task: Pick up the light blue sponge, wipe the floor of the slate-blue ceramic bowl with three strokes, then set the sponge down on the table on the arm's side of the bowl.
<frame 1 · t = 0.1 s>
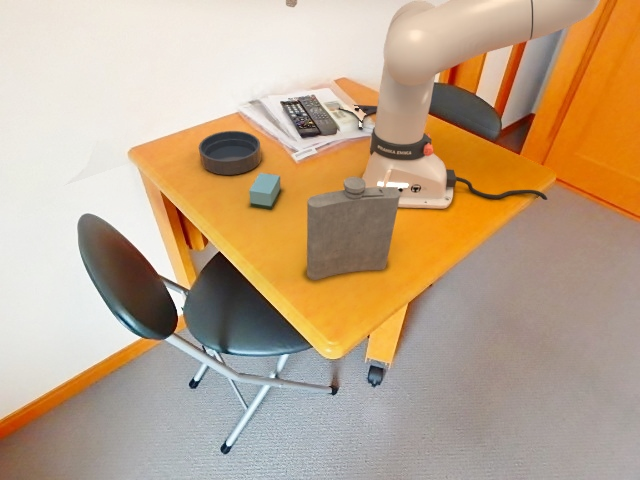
hand: (297, 0, 76), 39 cm above the table, tool pointing down, fingers open, 8 cm apart
bracket: (360, 119, 126), on the table
sponge: (266, 198, 94), on the table
bowl: (231, 160, 106), on the table
hip flask: (346, 268, 78), on the table
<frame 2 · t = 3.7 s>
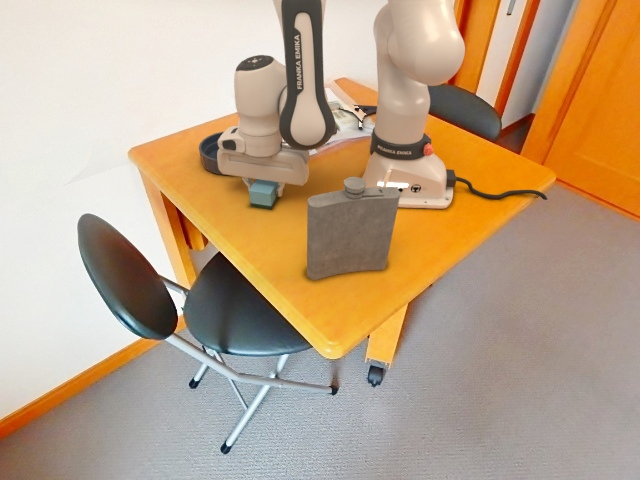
hand: (265, 193, 92), 2 cm above the table, tool pointing down, fingers closed on sponge, 5 cm apart
sponge: (266, 198, 94), on the table, touching gripper
everything else where it was.
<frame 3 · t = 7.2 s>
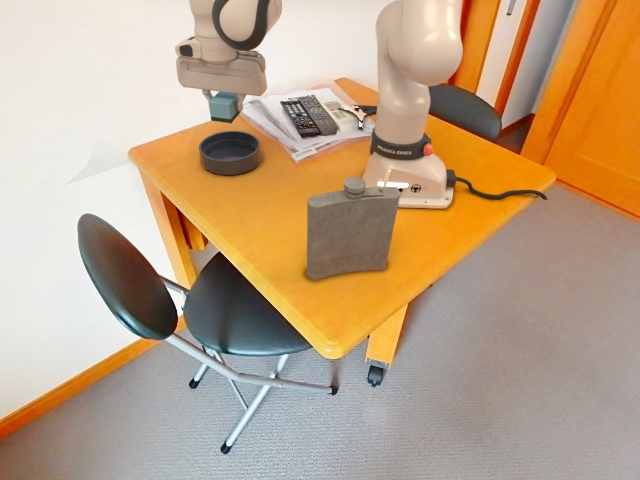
hand: (226, 108, 94), 15 cm above the table, tool pointing down, fingers closed on sponge, 5 cm apart
sponge: (227, 115, 95), point 13 cm above the table, touching gripper
everything else where it was.
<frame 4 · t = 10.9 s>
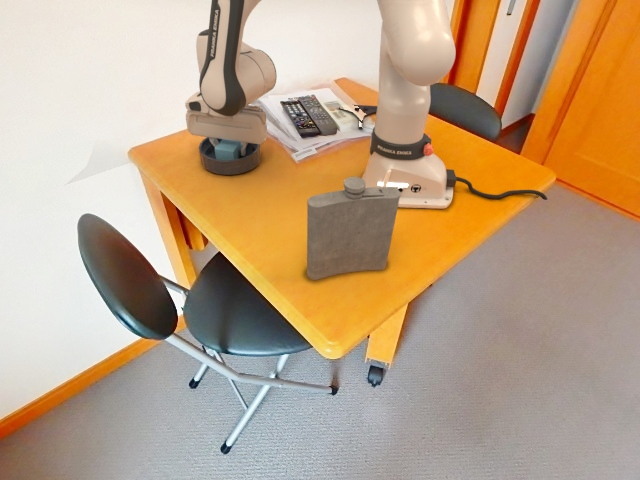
hand: (230, 153, 104), 2 cm above the table, tool pointing down, fingers closed on sponge, 5 cm apart
sponge: (231, 158, 105), point 1 cm above the table, touching bowl, gripper
everything else where it was.
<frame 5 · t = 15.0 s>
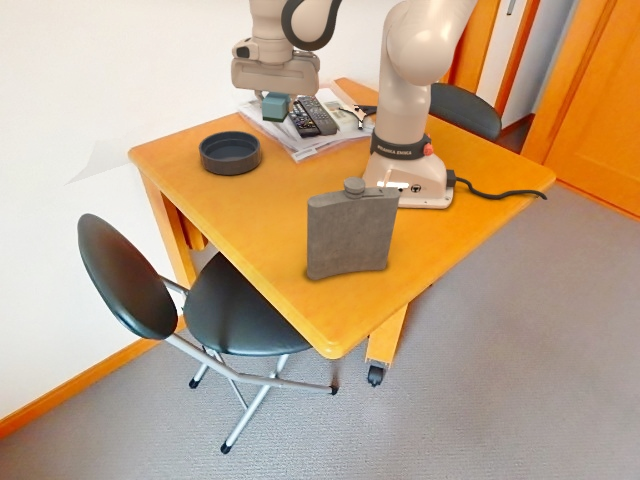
hand: (276, 109, 96), 15 cm above the table, tool pointing down, fingers closed on sponge, 5 cm apart
sponge: (277, 115, 97), point 13 cm above the table, touching gripper
everything else where it was.
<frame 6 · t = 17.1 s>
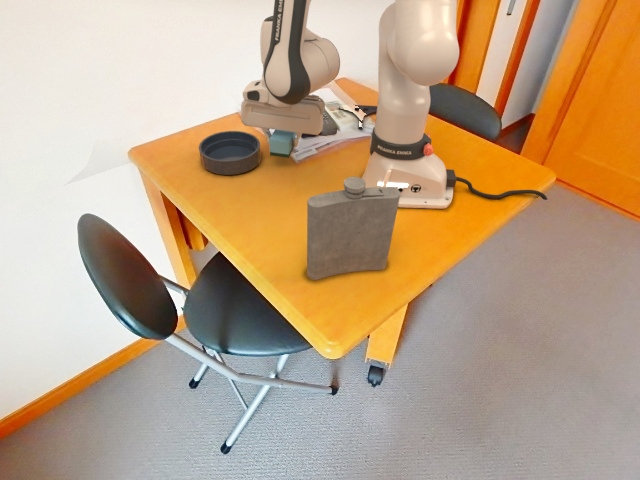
hand: (282, 144, 102), 5 cm above the table, tool pointing down, fingers closed on sponge, 5 cm apart
sponge: (283, 149, 103), point 4 cm above the table, touching gripper
everything else where it was.
when the fingers open (1 cm above the table, at t = 18.5 s): sponge stays where it is, on the table.
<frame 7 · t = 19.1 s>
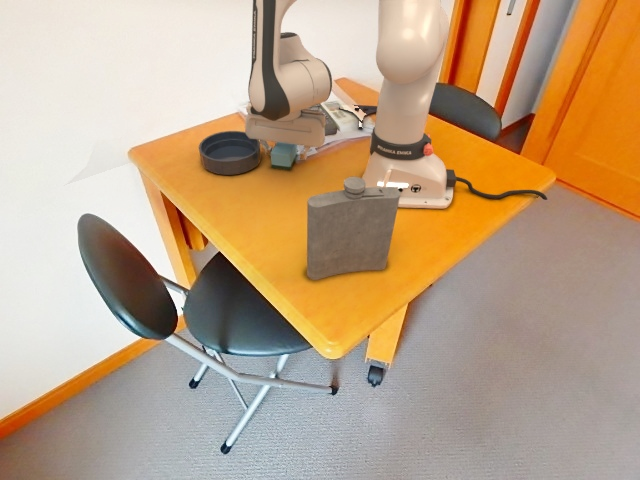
hand: (286, 156, 105), 2 cm above the table, tool pointing down, fingers open, 8 cm apart
sponge: (284, 161, 106), on the table
everything else where it was.
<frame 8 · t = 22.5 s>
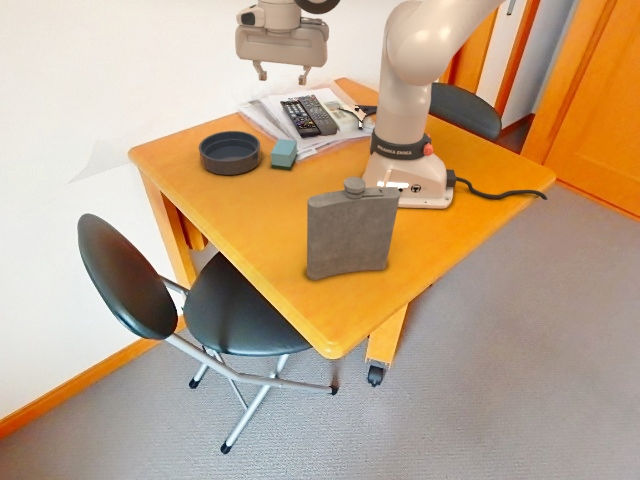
hand: (282, 82, 92), 21 cm above the table, tool pointing down, fingers open, 8 cm apart
nothing on the table moved.
at the end: sponge 0.3 cm from the target spot, on the table; sponge tilted 0°; the gripper is holding nothing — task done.
